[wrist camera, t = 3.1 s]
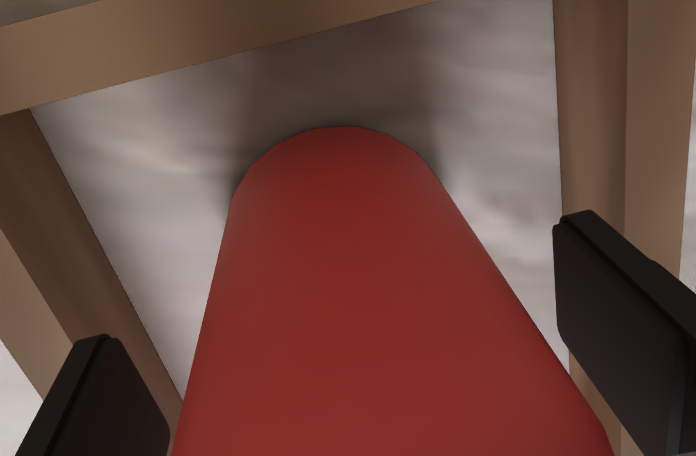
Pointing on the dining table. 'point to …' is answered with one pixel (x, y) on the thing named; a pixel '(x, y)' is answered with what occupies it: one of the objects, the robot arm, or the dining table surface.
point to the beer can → (368, 321)
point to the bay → (284, 24)
